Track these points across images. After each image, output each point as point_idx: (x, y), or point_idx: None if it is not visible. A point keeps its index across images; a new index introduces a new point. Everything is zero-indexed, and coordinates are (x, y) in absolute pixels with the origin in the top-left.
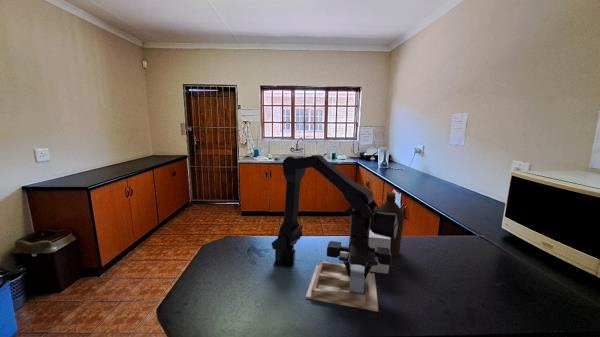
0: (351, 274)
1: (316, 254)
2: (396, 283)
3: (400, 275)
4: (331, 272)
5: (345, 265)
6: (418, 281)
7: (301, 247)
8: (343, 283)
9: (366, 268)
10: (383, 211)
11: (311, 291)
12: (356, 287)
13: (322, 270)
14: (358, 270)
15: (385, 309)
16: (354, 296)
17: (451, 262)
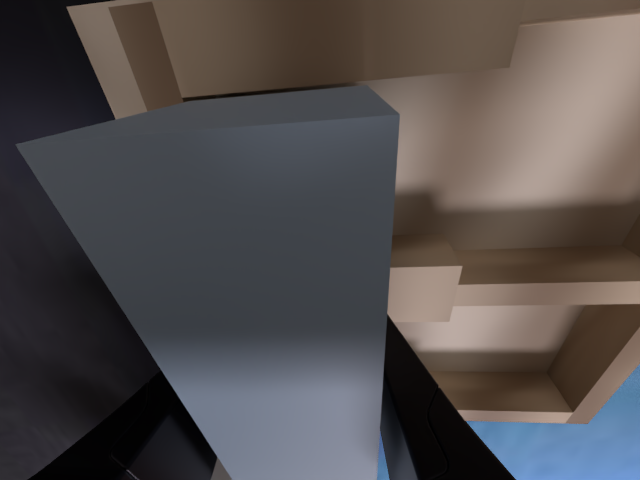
0: (360, 258)
1: (552, 449)
2: (116, 343)
3: (125, 392)
4: (490, 348)
5: (478, 444)
6: (41, 373)
7: (631, 476)
8: (417, 248)
9: (143, 433)
10: None
11: None
12: (263, 98)
13: (555, 352)
14: (254, 383)
15: (52, 75)
16: (290, 6)
17: (11, 466)
